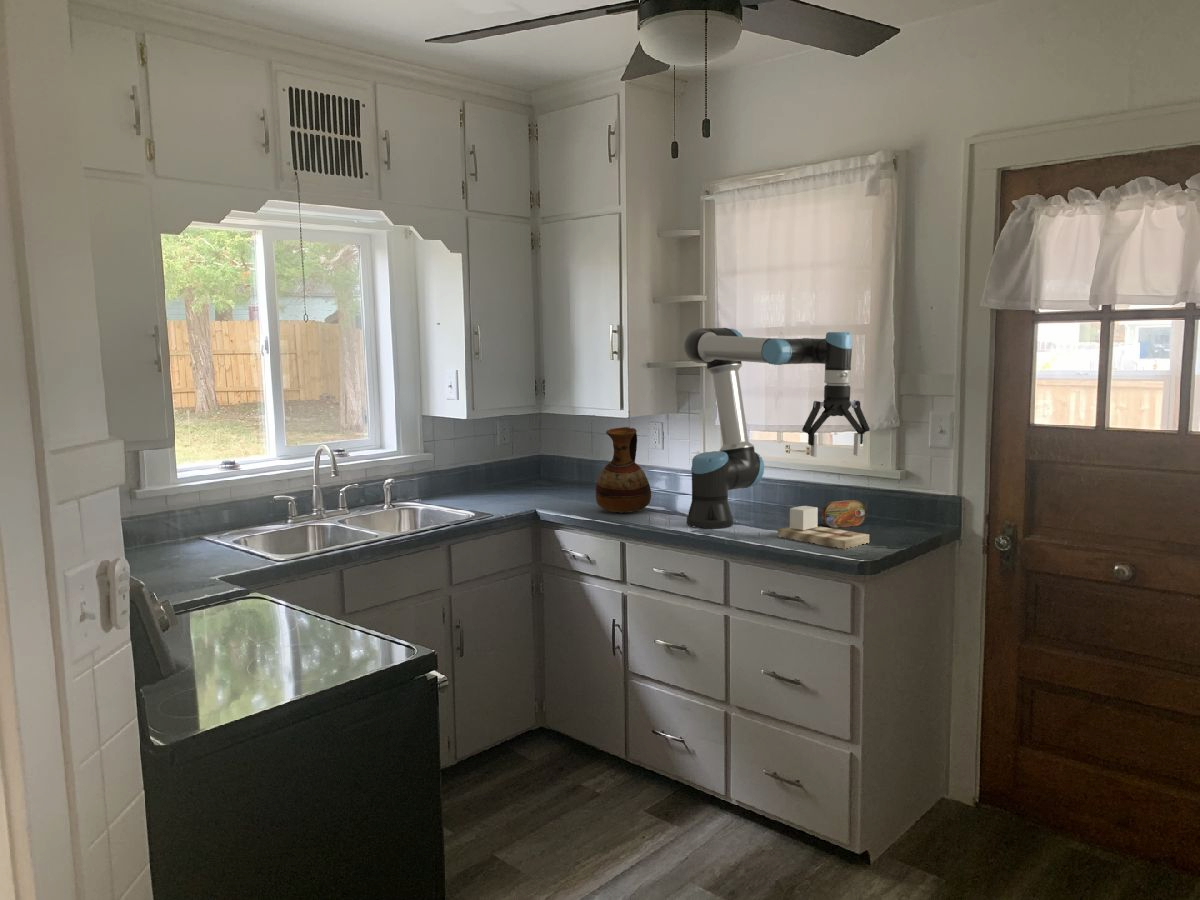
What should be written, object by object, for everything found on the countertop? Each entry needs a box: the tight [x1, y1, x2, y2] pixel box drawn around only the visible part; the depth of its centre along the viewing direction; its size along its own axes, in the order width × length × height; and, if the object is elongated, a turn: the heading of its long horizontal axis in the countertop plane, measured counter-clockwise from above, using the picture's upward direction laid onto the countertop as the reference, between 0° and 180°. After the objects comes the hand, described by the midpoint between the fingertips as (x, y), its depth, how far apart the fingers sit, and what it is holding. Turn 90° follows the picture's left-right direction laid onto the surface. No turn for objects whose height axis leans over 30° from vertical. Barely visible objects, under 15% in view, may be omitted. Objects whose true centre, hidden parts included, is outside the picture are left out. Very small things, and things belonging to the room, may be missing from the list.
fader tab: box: [789, 505, 819, 530], centre depth 280 cm, size 5×7×6 cm
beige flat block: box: [777, 525, 870, 550], centre depth 275 cm, size 24×12×3 cm, turn 40°
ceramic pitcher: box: [595, 426, 652, 514], centre depth 328 cm, size 20×20×30 cm
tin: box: [821, 499, 867, 529], centre depth 295 cm, size 15×3×8 cm, turn 106°
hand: (835, 455), depth 276 cm, fingers open, 13 cm apart
